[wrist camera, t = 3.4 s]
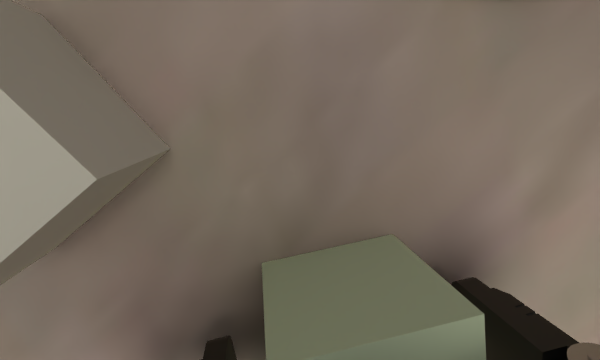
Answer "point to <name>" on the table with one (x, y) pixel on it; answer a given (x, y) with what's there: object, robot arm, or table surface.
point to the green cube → (366, 307)
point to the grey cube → (58, 140)
